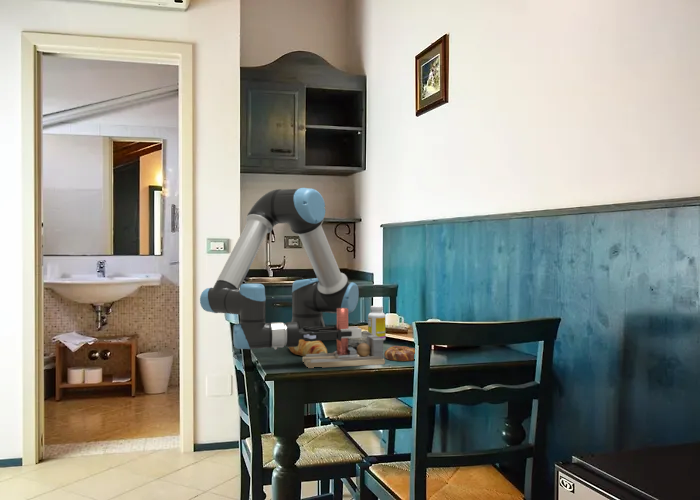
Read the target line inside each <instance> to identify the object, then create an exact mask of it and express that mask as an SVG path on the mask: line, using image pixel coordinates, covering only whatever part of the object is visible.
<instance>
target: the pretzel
mask: <svg viewBox="0 0 700 500" xmlns="http://www.w3.org/2000/svg"><path fill="white" fill-rule="evenodd" d="M415 349H416V348H415V347H409V346H406V345H403V346H400V345H391V346H390V347H388V348H387V349H386V350H385V351H384V352H383V358H384V359H385V360H386V359H387V361H395V362H412V361H415V360H414V354H415Z"/></svg>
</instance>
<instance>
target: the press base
mask: <svg viewBox="0 0 700 500" xmlns="http://www.w3.org/2000/svg"><path fill="white" fill-rule="evenodd" d="M356 354H357V355H358V357H353V358H336V357H335V356H334V352H329V353H328V352H327V353H323V354H306V356H302V363H303V362H304V363H303V364H304V365H305V366H306V368H307V367H308V368H307V369H315V368H314V367H322V368H337V367H340V368H341V367H356V366H358V367H359V366H373V365H377V366H378V365H385V363H386V358H385V357H384V340H383V339H382V338H380V337H378V336H376V335H370V336H367V344H366V343H361V344H359V345H358V347H357V348H356Z"/></svg>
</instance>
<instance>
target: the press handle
mask: <svg viewBox="0 0 700 500" xmlns="http://www.w3.org/2000/svg"><path fill="white" fill-rule="evenodd" d="M336 325H337V330H341V329H348V327H349V314H348V308H337V313H336ZM348 340H349V338H341V341H339V340H336V350H334V351H333V353H334V356H335V357H336V358H353V357H358V355H357V354H356V352H357V349H356V348H352V347H351V346H350V347H348Z"/></svg>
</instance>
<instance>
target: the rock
mask: <svg viewBox="0 0 700 500" xmlns="http://www.w3.org/2000/svg"><path fill="white" fill-rule="evenodd" d="M370 335H373V334H371V333H370V332H368V330H362V337H360V338H348V348H351V347H352V348H354V349H357V347H358V345H359V344H361V343H366V344H367V336H370Z"/></svg>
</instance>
